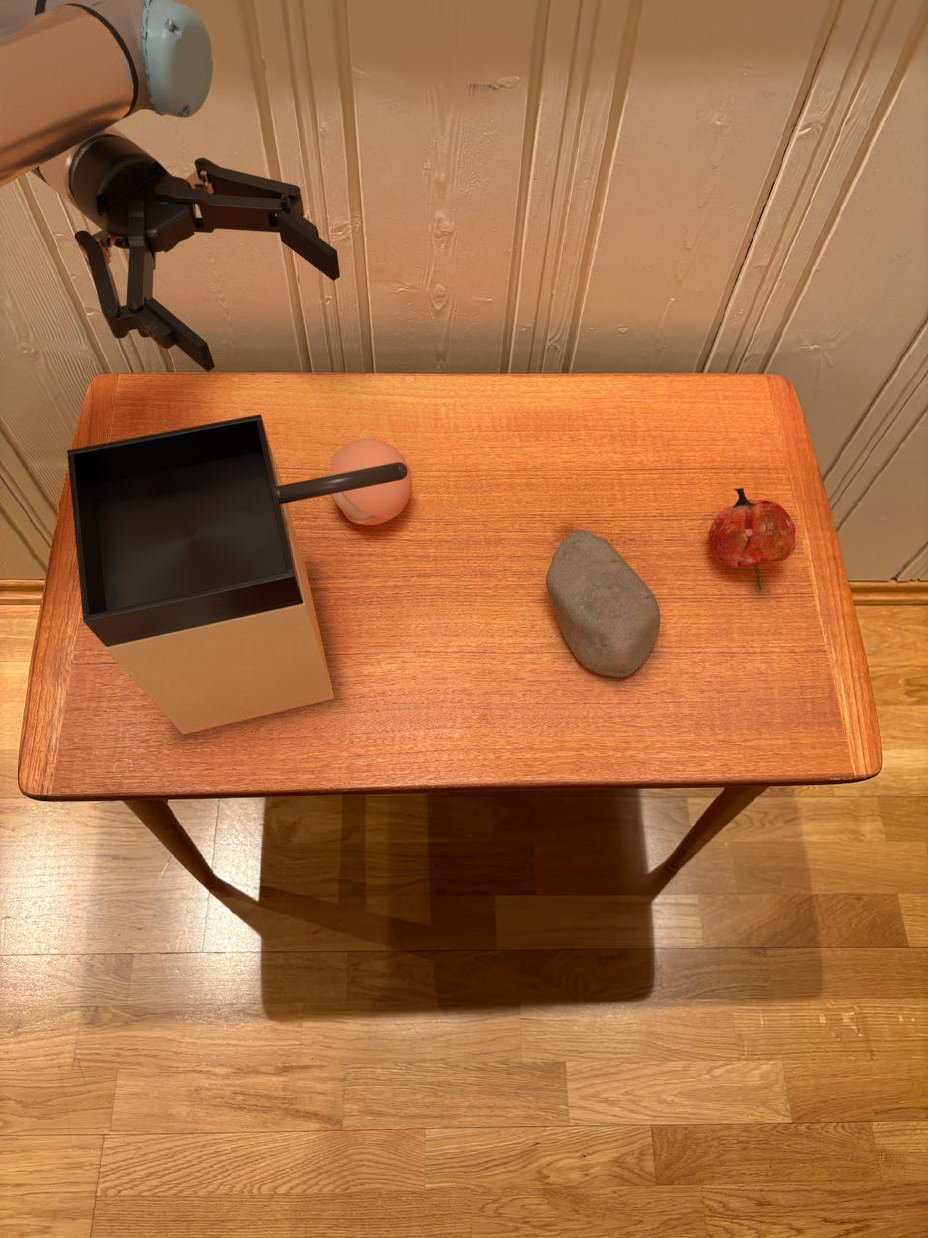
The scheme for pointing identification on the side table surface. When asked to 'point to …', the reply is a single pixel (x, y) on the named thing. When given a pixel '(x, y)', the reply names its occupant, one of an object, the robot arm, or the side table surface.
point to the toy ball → (373, 500)
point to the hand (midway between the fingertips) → (273, 310)
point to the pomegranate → (752, 533)
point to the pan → (189, 528)
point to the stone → (602, 605)
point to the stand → (234, 662)
